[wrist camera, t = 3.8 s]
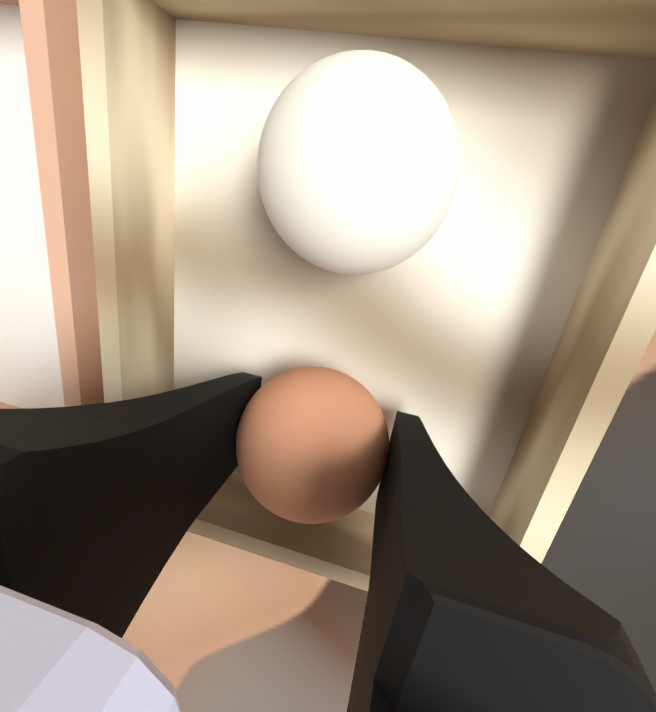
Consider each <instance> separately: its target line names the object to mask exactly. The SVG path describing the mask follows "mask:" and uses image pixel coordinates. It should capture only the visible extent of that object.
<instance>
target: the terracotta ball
mask: <svg viewBox="0 0 656 712" xmlns="http://www.w3.org/2000/svg"><path fill="white" fill-rule="evenodd" d="M388 452H389V435H388V428H387V424H386V421H385V417H384V415H383V413H382V410H381V408H380V407H379V405H378V403H377V402H376V400H375V398H374V397H373V396H372V394H371V393H370V392H369V391H368V390H367V389H366V388H365V387H364V386H363V385H362V384H361V383H359V382H358V381H357V380H355V379H354V378H352V377H350V376H349V375H347V374H344V373H342V372H340V371H337V370H334V369H330V368H325V367H301V368H296V369H292V370H289V371H287V372H284V373H282V374H280V375H278V376H276V377H274V378H272V379H271V380H270V381H268V382H267V383H266V384H264V385H263V386H262V387H261V388H260V389H259V390H258V391H257V392H256V393H255V394H254V395H253V397H252V398H251V400H250V401H249V402H248V404H247V406H246V408H245V410H244V412H243V414H242V416H241V418H240V422H239V425H238V429H237V435H236V457H237V462H238V466H239V470H240V473H241V476H242V478H243V480H244V482H245V484H246V486H247V488H248V489H249V491H250V492H251V493H252V495H253V496H254V497H255V498H256V500H257V501H258V502H259V503H260V504H261V505H263V506H264V507H265V508H266V509H268V510H269V511H271V512H272V513H274V514H275V515H277V516H279V517H281V518H284V519H287V520H289V521H293V522H297V523H304V524H318V523H326V522H331V521H334V520H337V519H339V518H342V517H344V516H346V515H348V514H350V513H351V512H353V511H354V510H356V509H357V508H359V507H360V506H361V505H362V504H363V503H364V502H365V501H367V499H368V498H369V497H370V496H371V495H372V494H373V492H374V491H375V490H376V488H377V486H378V484H379V482H380V481H381V479H382V477H383V474H384V471H385V468H386V464H387V459H388Z"/></svg>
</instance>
